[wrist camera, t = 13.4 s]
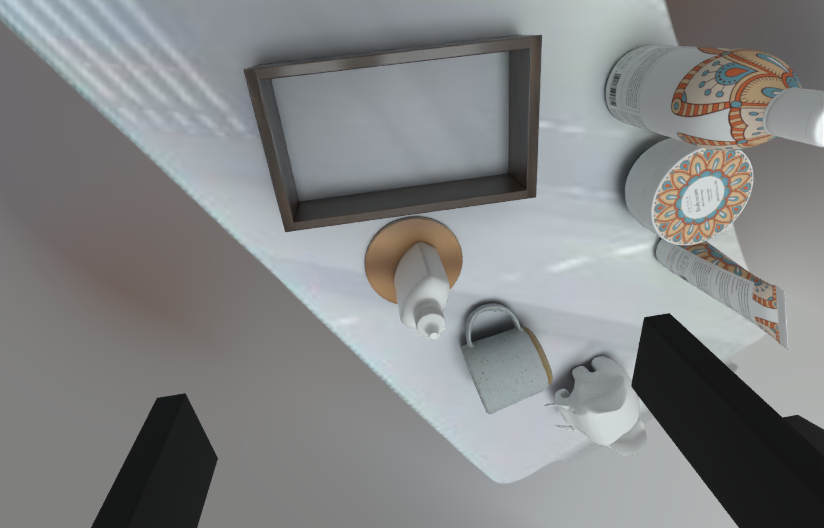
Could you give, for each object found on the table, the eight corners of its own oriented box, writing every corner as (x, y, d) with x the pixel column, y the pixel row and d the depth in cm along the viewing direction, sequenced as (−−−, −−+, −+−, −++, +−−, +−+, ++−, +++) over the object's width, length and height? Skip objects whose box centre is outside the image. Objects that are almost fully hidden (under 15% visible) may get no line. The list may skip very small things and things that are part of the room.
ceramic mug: (536, 357, 54) (563, 402, 47) (473, 380, 54) (490, 429, 47) (515, 287, 49) (541, 327, 42) (445, 314, 49) (460, 358, 42)
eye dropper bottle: (379, 264, 45) (388, 336, 34) (427, 234, 44) (451, 299, 33) (402, 294, 46) (418, 371, 36) (448, 266, 46) (478, 337, 35)
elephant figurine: (528, 377, 55) (557, 434, 47) (617, 333, 54) (663, 385, 46) (553, 422, 59) (584, 481, 52) (637, 383, 58) (681, 437, 50)
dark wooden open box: (256, 65, 36) (243, 69, 31) (519, 34, 37) (542, 35, 32) (292, 211, 42) (285, 232, 37) (517, 180, 43) (536, 197, 38)
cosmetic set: (715, 250, 50) (898, 360, 33) (638, 287, 51) (777, 410, 34) (680, 22, 38) (935, 15, 21) (580, 75, 39) (750, 107, 22)
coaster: (357, 224, 43) (358, 226, 42) (459, 210, 44) (460, 212, 43) (372, 309, 48) (372, 312, 47) (463, 295, 48) (464, 298, 48)
